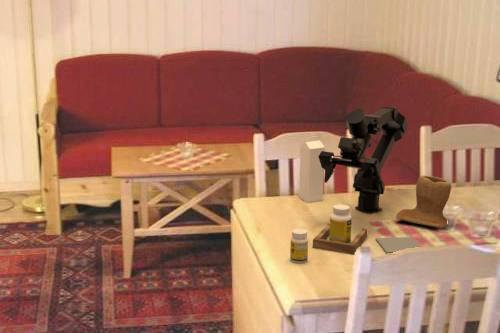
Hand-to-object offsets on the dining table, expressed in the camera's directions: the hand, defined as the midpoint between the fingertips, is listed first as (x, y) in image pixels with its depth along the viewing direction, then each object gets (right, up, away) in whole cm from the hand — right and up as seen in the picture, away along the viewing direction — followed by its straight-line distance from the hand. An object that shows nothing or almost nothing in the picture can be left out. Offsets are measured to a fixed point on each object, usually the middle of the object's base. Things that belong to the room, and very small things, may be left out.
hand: (339, 184), depth 221 cm
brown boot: (+28, -13, +13) cm, 34 cm away
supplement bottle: (-13, -20, -17) cm, 30 cm away
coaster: (+17, -18, -7) cm, 25 cm away
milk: (-6, -6, +35) cm, 36 cm away
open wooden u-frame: (0, -17, -4) cm, 17 cm away
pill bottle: (0, -17, -4) cm, 18 cm away
